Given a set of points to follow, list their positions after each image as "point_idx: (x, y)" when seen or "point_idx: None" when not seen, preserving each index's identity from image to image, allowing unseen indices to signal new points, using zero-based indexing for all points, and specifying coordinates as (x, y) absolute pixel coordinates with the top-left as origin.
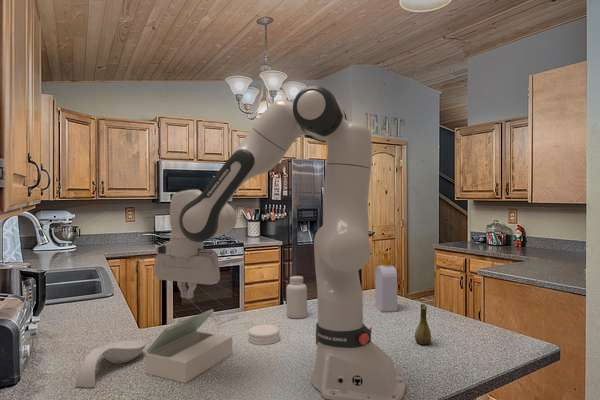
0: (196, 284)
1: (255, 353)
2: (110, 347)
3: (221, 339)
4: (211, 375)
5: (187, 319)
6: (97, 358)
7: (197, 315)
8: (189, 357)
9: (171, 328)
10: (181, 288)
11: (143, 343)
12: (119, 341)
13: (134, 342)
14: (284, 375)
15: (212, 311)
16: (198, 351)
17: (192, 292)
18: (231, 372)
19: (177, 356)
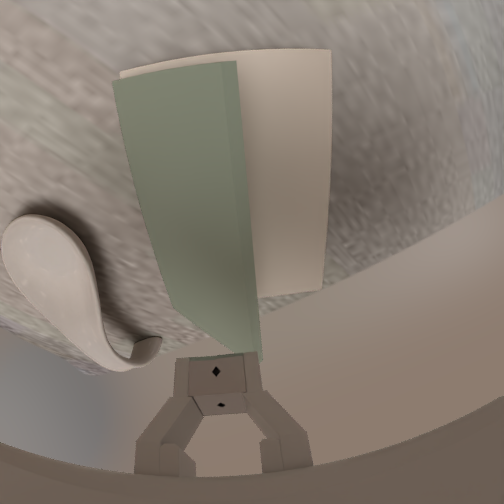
0: (306, 439)
1: (377, 23)
2: (18, 270)
3: (310, 97)
4: (342, 201)
5: (247, 287)
6: (137, 367)
7: (240, 220)
8: (310, 267)
9: (260, 349)
10: (190, 435)
11: (49, 226)
12: (2, 250)
13: (19, 225)
14: (483, 134)
15: (236, 75)
16: (306, 227)
17: (261, 386)
18: (381, 165)
19: (272, 278)
